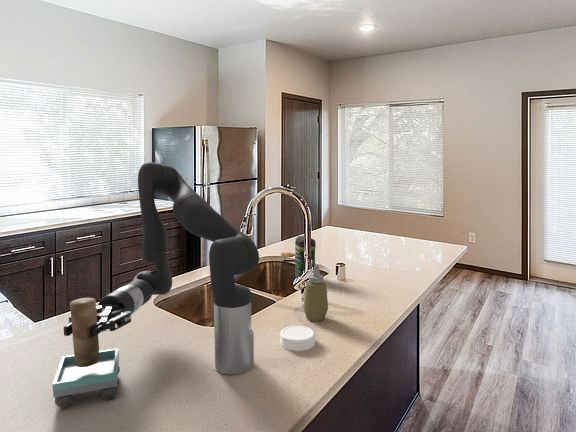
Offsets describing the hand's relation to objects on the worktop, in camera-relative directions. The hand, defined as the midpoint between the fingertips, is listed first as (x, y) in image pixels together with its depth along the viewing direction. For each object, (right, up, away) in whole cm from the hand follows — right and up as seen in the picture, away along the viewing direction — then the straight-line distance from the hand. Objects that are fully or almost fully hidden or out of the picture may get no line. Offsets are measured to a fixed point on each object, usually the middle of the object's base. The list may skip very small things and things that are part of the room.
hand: (77, 332), depth 86 cm
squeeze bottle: (+54, -9, +46) cm, 72 cm away
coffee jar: (+52, -2, +87) cm, 102 cm away
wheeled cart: (0, -15, +5) cm, 15 cm away
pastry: (+45, +3, +119) cm, 127 cm away
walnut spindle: (0, -7, +4) cm, 8 cm away
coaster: (+48, -12, +29) cm, 57 cm away
